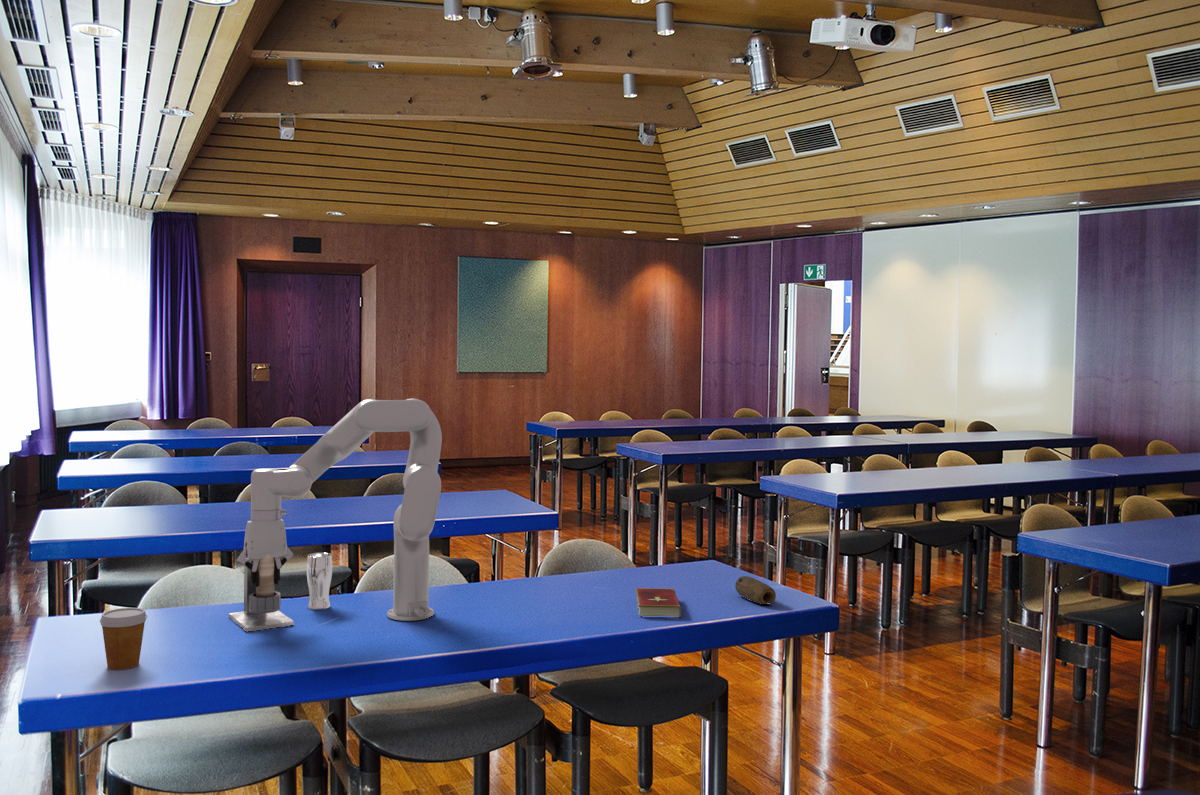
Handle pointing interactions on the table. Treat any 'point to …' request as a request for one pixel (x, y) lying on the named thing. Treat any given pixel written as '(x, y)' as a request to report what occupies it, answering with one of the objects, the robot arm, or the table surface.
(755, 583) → the stone weight
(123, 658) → the disposable coffee cup
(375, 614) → the table surface
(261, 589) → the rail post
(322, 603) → the beer glass
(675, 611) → the hardcover book
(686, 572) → the table surface
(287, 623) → the cup bracket
